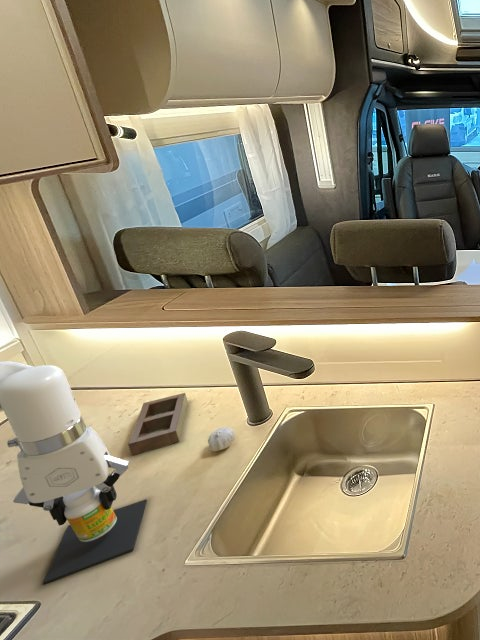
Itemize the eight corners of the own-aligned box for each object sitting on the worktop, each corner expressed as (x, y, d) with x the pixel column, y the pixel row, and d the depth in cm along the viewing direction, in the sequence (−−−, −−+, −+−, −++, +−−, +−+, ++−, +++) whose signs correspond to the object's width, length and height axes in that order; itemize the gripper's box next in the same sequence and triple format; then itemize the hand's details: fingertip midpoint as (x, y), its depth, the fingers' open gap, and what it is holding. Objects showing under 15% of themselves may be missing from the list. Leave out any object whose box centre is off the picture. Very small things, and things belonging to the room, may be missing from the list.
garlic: (225, 456, 99) (221, 439, 97) (203, 455, 99) (198, 438, 97) (242, 437, 104) (238, 420, 103) (221, 436, 105) (216, 420, 103)
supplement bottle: (94, 545, 76) (72, 508, 72) (71, 540, 77) (48, 503, 73) (124, 517, 81) (105, 481, 77) (102, 513, 82) (82, 477, 78)
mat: (43, 584, 72) (42, 582, 72) (69, 527, 82) (68, 525, 81) (133, 550, 78) (132, 548, 77) (147, 500, 87) (146, 499, 87)
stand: (132, 455, 98) (128, 444, 97) (146, 413, 111) (143, 402, 110) (179, 441, 103) (175, 430, 101) (188, 402, 116) (185, 392, 115)
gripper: (-33, 470, 64) (12, 551, 70) (114, 430, 72) (142, 506, 78) (-8, 438, 70) (31, 515, 76) (125, 405, 78) (151, 477, 84)
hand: (87, 510), depth 77 cm, fingers closed on supplement bottle, 5 cm apart
